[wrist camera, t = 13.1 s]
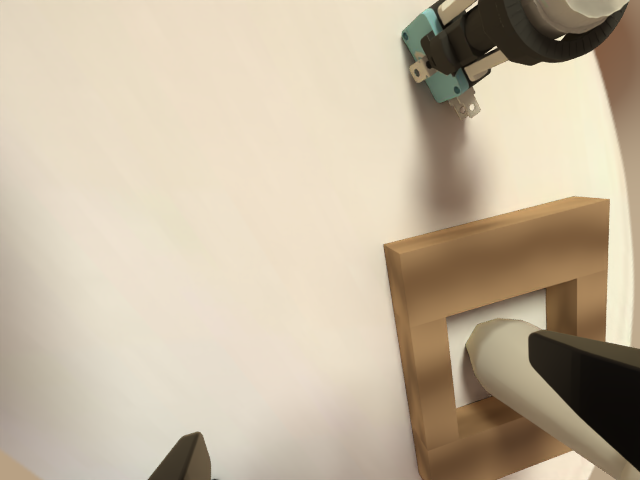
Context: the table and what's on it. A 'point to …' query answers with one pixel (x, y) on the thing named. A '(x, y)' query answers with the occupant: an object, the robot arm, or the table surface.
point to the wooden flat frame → (483, 289)
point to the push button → (501, 39)
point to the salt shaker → (535, 392)
